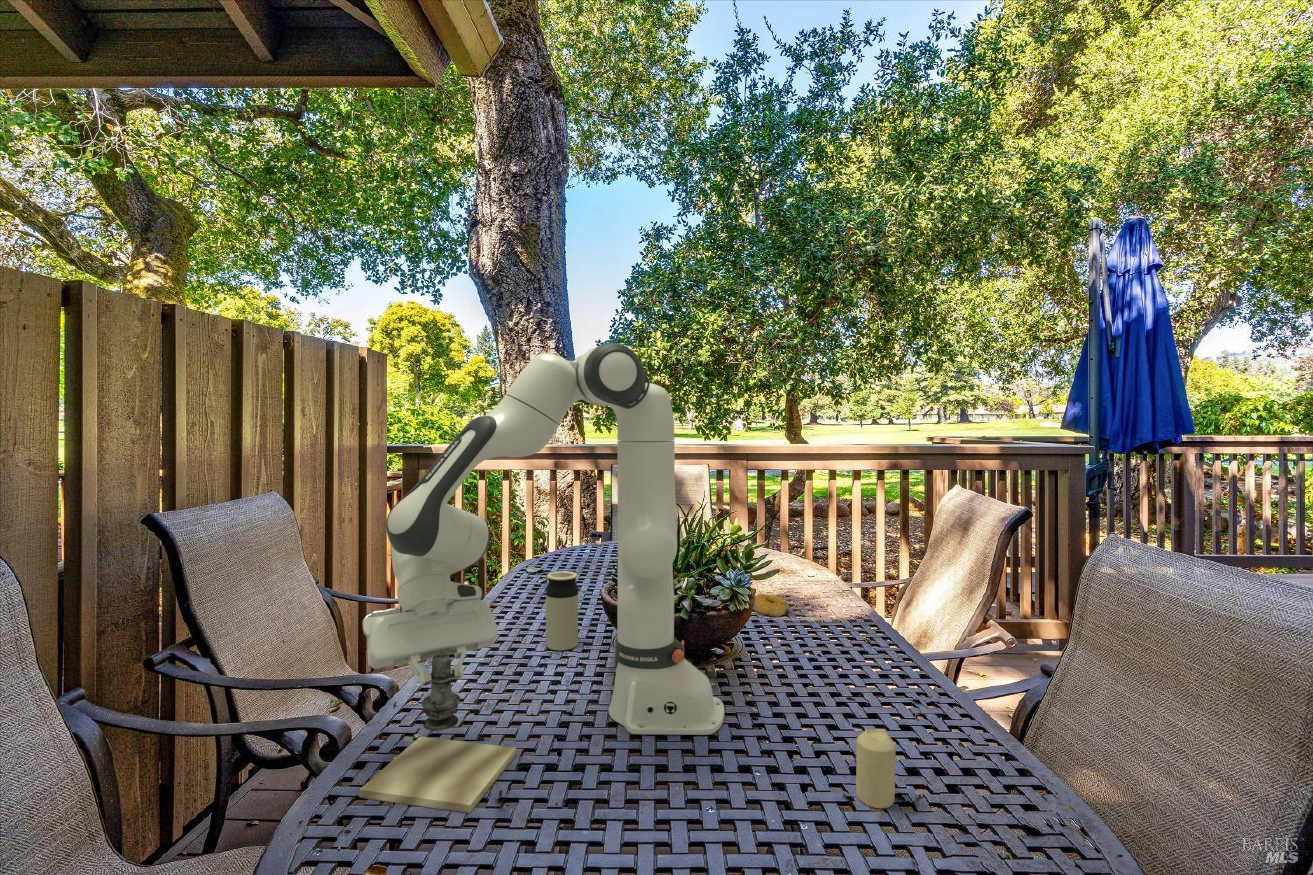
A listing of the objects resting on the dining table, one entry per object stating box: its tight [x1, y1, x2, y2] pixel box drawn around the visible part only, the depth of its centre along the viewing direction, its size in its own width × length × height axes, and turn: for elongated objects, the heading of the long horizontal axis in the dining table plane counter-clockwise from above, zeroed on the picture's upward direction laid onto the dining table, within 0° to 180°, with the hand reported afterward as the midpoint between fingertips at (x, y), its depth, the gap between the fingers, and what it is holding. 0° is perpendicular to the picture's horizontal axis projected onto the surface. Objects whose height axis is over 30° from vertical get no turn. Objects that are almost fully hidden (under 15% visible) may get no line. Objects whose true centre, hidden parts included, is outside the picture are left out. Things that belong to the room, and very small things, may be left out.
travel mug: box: [545, 570, 579, 652], centre depth 156 cm, size 8×8×18 cm
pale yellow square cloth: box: [358, 736, 517, 814], centre depth 99 cm, size 18×16×1 cm
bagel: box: [754, 593, 789, 618], centre depth 185 cm, size 10×11×5 cm
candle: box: [855, 728, 896, 809], centre depth 94 cm, size 6×6×10 cm
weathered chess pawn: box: [421, 649, 461, 732], centre depth 99 cm, size 6×6×12 cm
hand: (442, 680), depth 98 cm, fingers closed on weathered chess pawn, 4 cm apart
